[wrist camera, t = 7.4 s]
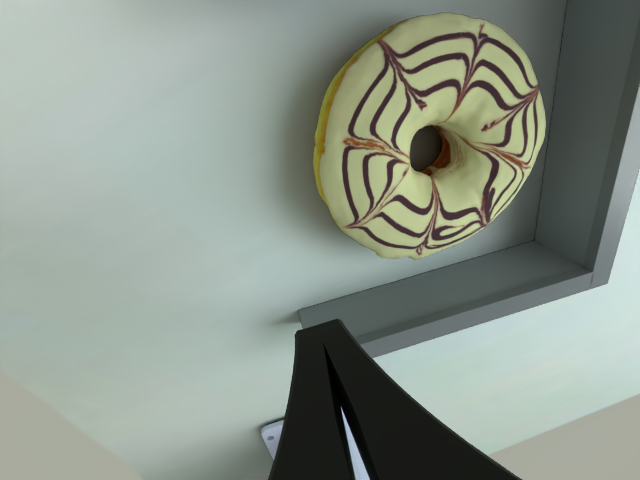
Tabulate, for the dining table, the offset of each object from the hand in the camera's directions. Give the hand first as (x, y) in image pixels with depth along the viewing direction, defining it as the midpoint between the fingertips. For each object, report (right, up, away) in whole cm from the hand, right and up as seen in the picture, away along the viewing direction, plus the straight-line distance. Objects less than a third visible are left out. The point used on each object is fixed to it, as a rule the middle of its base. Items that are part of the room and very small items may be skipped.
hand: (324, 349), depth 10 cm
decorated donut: (+4, +8, +7) cm, 12 cm away
